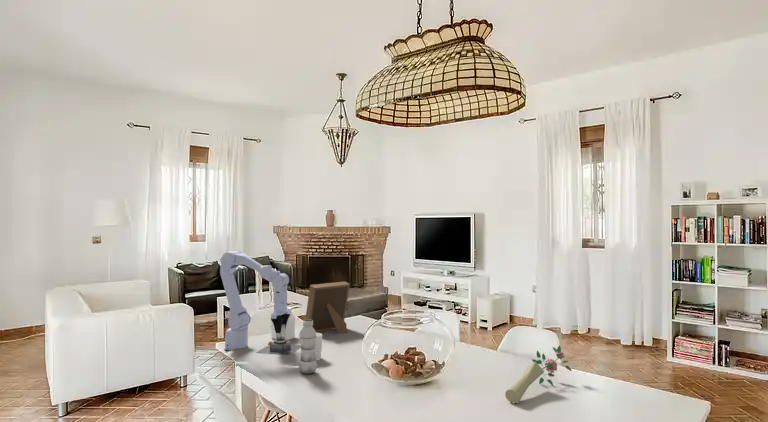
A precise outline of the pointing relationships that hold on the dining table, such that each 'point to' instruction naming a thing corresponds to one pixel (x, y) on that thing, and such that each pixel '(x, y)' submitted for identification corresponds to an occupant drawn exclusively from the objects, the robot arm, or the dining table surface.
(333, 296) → the photo frame
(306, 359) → the plastic bottle
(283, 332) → the silver metal canister
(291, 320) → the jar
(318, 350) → the white cup
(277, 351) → the stand base
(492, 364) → the dining table surface
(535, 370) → the flower vase
